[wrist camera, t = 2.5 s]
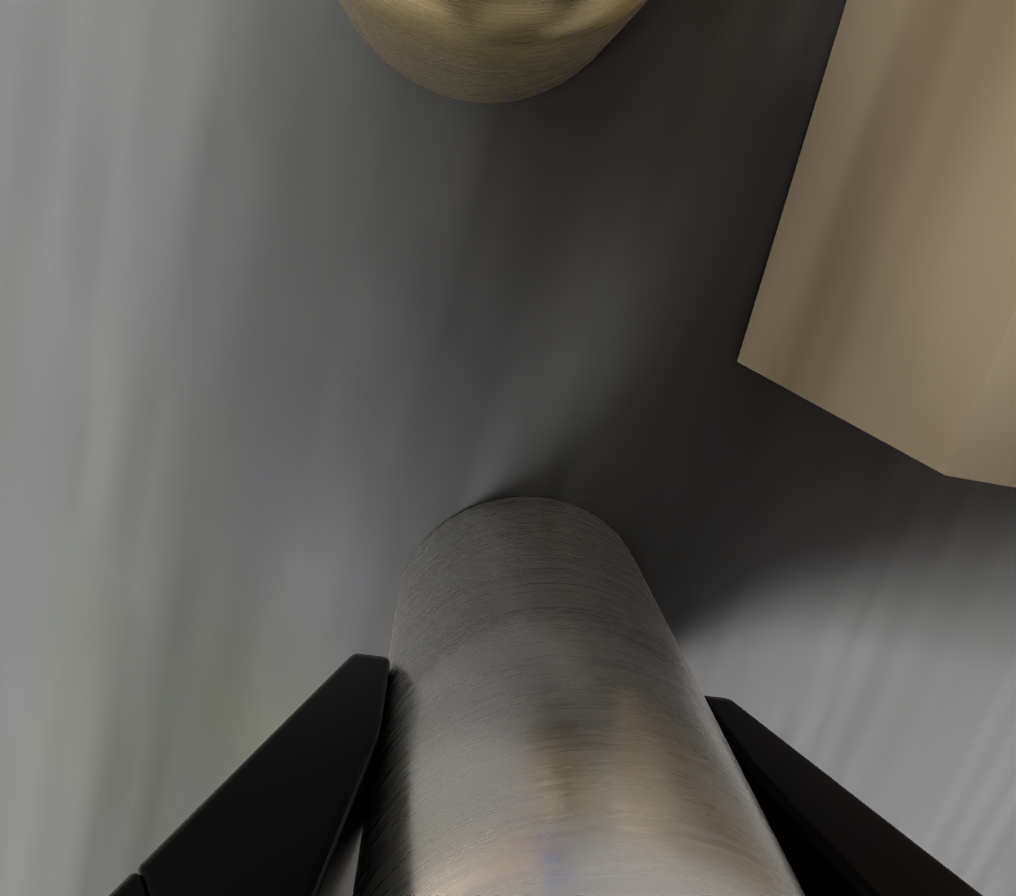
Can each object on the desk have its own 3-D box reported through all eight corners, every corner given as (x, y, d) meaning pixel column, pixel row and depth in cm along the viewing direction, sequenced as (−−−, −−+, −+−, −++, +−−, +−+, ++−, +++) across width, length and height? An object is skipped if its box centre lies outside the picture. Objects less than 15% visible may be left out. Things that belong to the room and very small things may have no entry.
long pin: (670, 517, 10) (1482, 1687, 2) (610, 724, 11) (989, 1987, 3) (417, 477, 9) (229, 1791, 2) (379, 697, 10) (163, 2102, 3)
